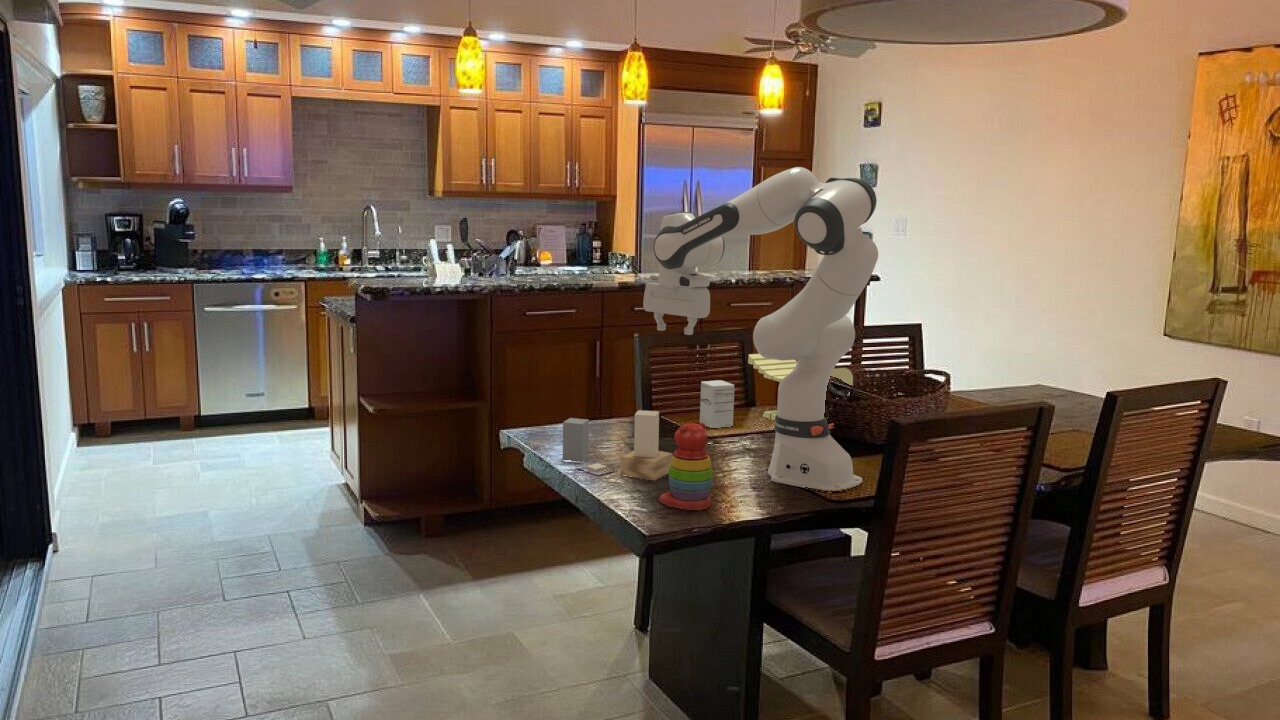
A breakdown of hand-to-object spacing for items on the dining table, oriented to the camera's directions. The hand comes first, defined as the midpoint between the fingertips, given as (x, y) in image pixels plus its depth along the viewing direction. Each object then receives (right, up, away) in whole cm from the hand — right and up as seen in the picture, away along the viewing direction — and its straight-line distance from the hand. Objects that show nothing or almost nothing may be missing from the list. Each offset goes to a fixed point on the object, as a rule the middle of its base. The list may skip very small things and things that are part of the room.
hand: (674, 332), depth 242 cm
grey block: (-25, -32, -4) cm, 41 cm away
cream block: (-7, -29, -16) cm, 34 cm away
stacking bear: (+2, -38, -37) cm, 53 cm away
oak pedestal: (-7, -34, -15) cm, 38 cm away
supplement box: (+13, -26, +35) cm, 46 cm away
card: (-19, -33, -13) cm, 40 cm away
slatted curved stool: (+38, -25, +45) cm, 64 cm away
